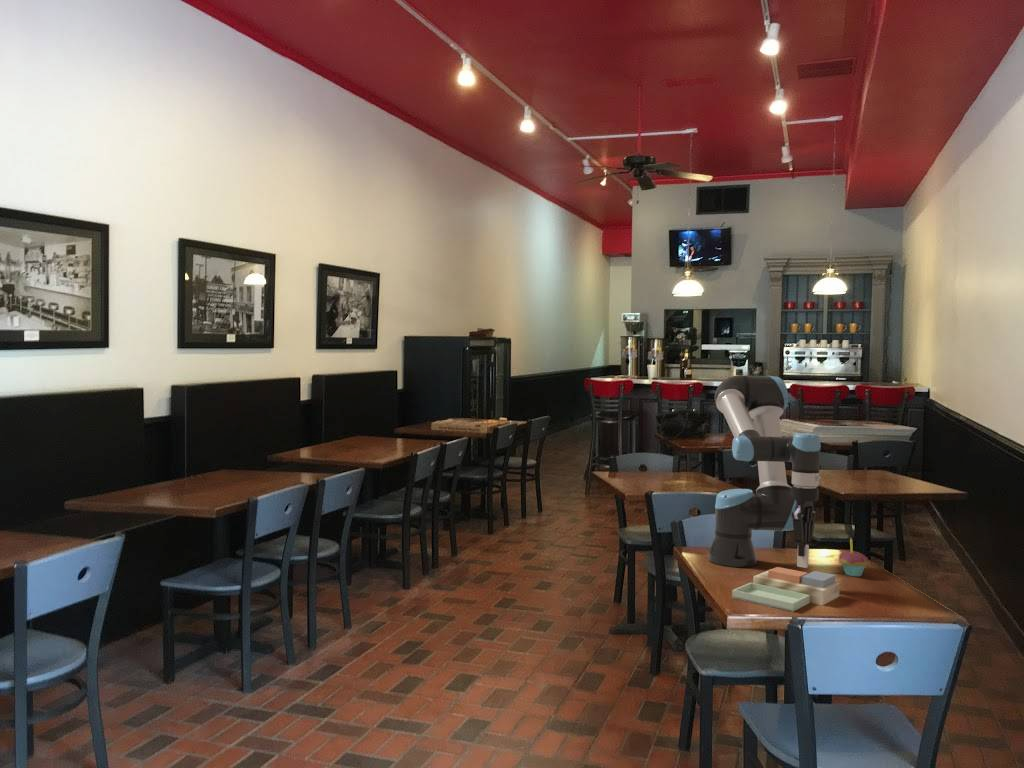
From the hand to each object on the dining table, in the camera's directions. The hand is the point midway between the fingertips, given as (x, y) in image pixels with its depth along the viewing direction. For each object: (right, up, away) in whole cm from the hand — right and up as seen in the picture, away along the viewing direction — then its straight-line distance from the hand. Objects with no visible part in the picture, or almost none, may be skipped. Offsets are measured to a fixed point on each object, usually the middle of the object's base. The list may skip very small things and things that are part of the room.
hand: (802, 566), depth 241 cm
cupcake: (+21, -6, +15) cm, 26 cm away
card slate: (+1, -1, -11) cm, 11 cm away
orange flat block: (-7, -1, -7) cm, 10 cm away
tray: (-14, -6, -15) cm, 22 cm away
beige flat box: (-5, -6, -8) cm, 11 cm away
